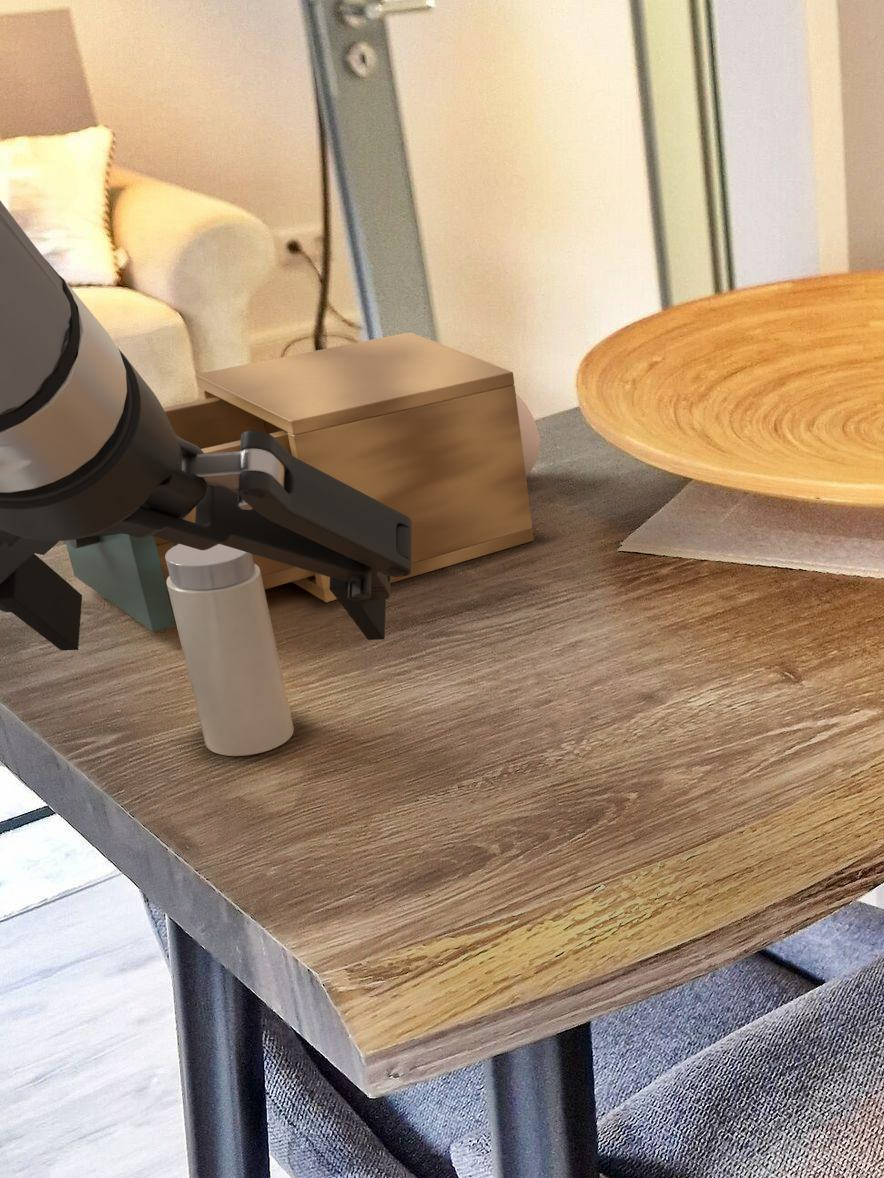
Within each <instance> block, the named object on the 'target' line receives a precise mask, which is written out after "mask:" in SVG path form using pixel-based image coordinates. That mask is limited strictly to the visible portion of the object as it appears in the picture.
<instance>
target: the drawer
mask: <svg viewBox="0 0 884 1178" xmlns="http://www.w3.org/2000/svg"><path fill="white" fill-rule="evenodd" d="M163 409H164V411H165V413H166V415H167V418H168V420H169V422H170V424H171V427H172V429H173V431H174V433H175V434H176V435H177V436H178V437H180V438H181V439H183V440H185V441H187V442H190V443H192V444H194V445H196V446H197V447H199V448H200V449H201V450H202V451H203V452H204V453H205V454H208V453H222V452H236V451H240V443H241V435H242V433H244V432H247V431H262V432H266V433H268V434H271V435H272V436H273V437H274V438H275V439H276V440H277V441H278V442H279V443H280V444H281V445H282V446H283V447H284V448H285V449H286V450H287V451H288V452H289V453H290V454H291V449H290V444H289V438H288V432H287V431H285V430H283V429H281V428H279V427H277V426H275V425H273V424H271V423H269V422H267V421H265V420H263V419H261V418H259V417H257V416H255V415H253V414H251V413H249V412H247V411H245V410H243V409H241V408H239V407H237V406H235V405H233V404H231V403H229V402H227V401H225V400H223V399H221V398H219V397H213V398H208V399H203V400H201V399H199V400H195V401H190V402H183V403H179V404H173V405H171V406H165V407H163ZM291 455H292V454H291ZM195 514H196V506H195V507H194V508H193V510H192V511H191V512H190V513H189V514H188V515H187V516H186V517H185V518H184V520H187V521H190V522H193V523H195ZM64 542H65V546H66V549H67V552H68V553H67V554H68V557H69V560H70V564H71V568H72V571H73V575H74V577H75V578H77V579H78V580H79V581H81V582H82V583H83V584H85V585H86V586H88V587H89V588H90V589H92V590H93V591H94V592H96V593H98V594H99V595H100V596H102V597H103V598H105V600H107V601H109V602H110V603H111V604H113V605H114V606H116V607H117V608H118V609H120V610H122V612H124V613H126V614H127V615H128V616H129V617H131V618H132V619H134V620H135V621H137V623H139V624H141V625H142V626H144V627H145V628H147V630H149V631H151V632H152V633H156V632H159V631H163V630H166V629H170V628H174V627H176V621H175V617H174V613H173V609H172V604H171V600H170V596H169V592H168V588H167V584H166V581H167V578H168V577H169V572H168V567H167V563H166V559H165V555H166V553H167V551H168V550H170V549H171V548H172V547H174V546H176V545H178V543H175V542H171V541H168V540H165V539H161V538H158V537H154V536H147V537H144V538H137V537H134V536H130V535H127V534H115V535H108V536H92V537H84V538H79V539H75V540H67V541H64ZM252 555H253V560H254V563H255V564H256V565H257V566H258V567H259V568H260V570H261V575H262V580H263V585H264V589H265V590H268V589H271V588H274V587H278V586H281V585H285V584H288V583H289V584H290V583H293V582H292V581H296V580H299V579H303V578H306V577H310V576H313V575H315V573H314V572H311V571H308V570H304V569H301V568H298V567H294V566H291V565H288V564H284V563H281V562H278V561H274V560H271V559H268V558H264V557H261V556H258V555H254V554H252Z"/></svg>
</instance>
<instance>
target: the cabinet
mask: <svg viewBox="0 0 884 1178" xmlns="http://www.w3.org/2000/svg"><path fill="white" fill-rule="evenodd" d="M195 380H196V384H197V387H198V392H199V396H200V400H203V399H208V398H213V397H219V398H221V399H223V400H225V401H227V402H229V403H231V404H233V405H235V406H237V407H239V408H241V409H243V410H245V411H247V412H249V413H251V414H253V415H255V416H257V417H259V418H261V419H263V420H265V421H267V422H269V423H271V424H273V425H275V426H277V427H279V428H281V429H283V430H285V431H287V432H288V438H289V444H290V449H291V454H292V456H293V457H295V458H297V459H299V460H301V461H303V462H305V463H307V464H309V465H310V466H312V467H314V468H316V469H318V470H320V471H322V472H324V473H326V474H328V475H329V476H331V477H333V478H335V479H337V480H339V481H341V482H343V483H345V484H347V485H348V486H350V487H352V488H354V489H356V490H358V491H360V492H362V493H364V494H366V495H367V496H369V497H371V498H373V499H375V500H377V501H379V502H381V503H383V504H385V505H386V506H388V507H390V508H392V509H394V510H396V511H398V512H400V513H402V514H404V515H405V516H407V517H409V518H410V519H411V520H412V538H411V573H410V574H409V575H407V576H403V577H393V576H391V580H390V584H393V583H396V582H399V581H402V580H403V581H404V580H406V579H410V578H412V577H416V576H420V575H423V574H427V573H430V572H433V571H436V570H440V569H443V568H447V567H450V566H454V565H457V564H459V563H464V562H467V561H470V560H473V559H477V558H480V557H483V556H487V555H490V554H493V553H497V552H500V551H504V550H507V549H510V548H513V547H517V546H520V545H524V544H527V543H530V542H534V541H535V536H534V530H533V522H532V513H531V505H530V497H529V490H528V488H529V487H528V482H527V480H528V479H527V476H526V472H525V464H524V456H523V448H522V440H521V432H520V424H519V416H518V408H517V400H516V394H517V393H516V386H515V378H514V372H513V371H511V370H509V369H506V368H504V367H501V366H499V365H495V364H493V363H491V362H489V361H485V360H483V359H480V358H477V357H476V356H473V355H470V354H468V353H465V352H463V351H460V350H457V349H456V348H453V347H450V346H447V345H445V344H442V343H440V342H438V341H435V340H432V339H430V338H427V337H425V336H422V335H419V334H417V333H415V332H411V331H409V332H404V333H399V334H394V335H393V334H392V335H389V336H385V337H383V336H382V337H378V338H373V339H367V340H364V341H363V340H362V341H358V342H354V343H353V342H352V343H348V344H343V345H337V346H333V347H327V348H323V349H317V350H312V351H308V352H302V353H297V354H293V355H287V356H283V357H276V358H271V359H267V360H262V361H257V362H252V363H247V364H241V365H235V366H231V367H226V368H221V369H220V368H219V369H215V370H211V371H206V372H201V373H196V374H195ZM291 583H293V584H295V585H297V586H298V587H300V588H301V589H303V590H305V591H306V592H308V593H310V594H312V595H313V596H315V597H316V598H318V599H319V600H321V601H323V602H324V603H329V602H332V601H336V600H337V598H336V597H335V596H334V594H333V593H332V592H331V590H330V589H329V587H330V577H328V576H324V575H321V574H318V573H315V575H313V576H310V577H306V578H303V579H299V580H296V581H292V582H291Z"/></svg>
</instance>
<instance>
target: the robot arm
mask: <svg viewBox="0 0 884 1178" xmlns="http://www.w3.org/2000/svg"><path fill="white" fill-rule="evenodd" d="M110 335H111V334H109V332H108V331H107V330H106V329H105V328H104V326H103V325H102V323H100V321H99V320H98V319H97V318H96V317H95V315H94V314H93V313H92V311H91V310H90V309H89V308H88V306H87V305H86V304H85V303H84V302H83V300H82V299H81V298H80V297H79V296H78V294H77V293H76V292H75V290H74V289H73V288H72V287H71V286H70V285H69V284H68V282H67V281H66V279H64V278H63V277H62V276H61V275H60V274H59V273H58V272H57V271H56V270H55V268H54V267H53V266H52V265H51V263H50V262H49V261H48V260H47V259H46V258H45V257H44V255H43V254H42V253H41V251H40V250H39V249H38V248H37V247H36V245H35V244H34V243H33V241H32V240H31V239H30V237H29V236H28V235H27V234H26V232H25V231H24V229H23V228H22V227H21V226H20V224H19V223H18V222H17V221H16V219H15V218H14V216H13V215H12V214H11V212H10V211H9V210H8V208H7V207H6V206H5V204H4V203H3V202H2V201H1V200H0V611H1V612H3V613H12V614H13V615H14V616H16V617H17V618H18V619H19V620H21V621H22V622H24V623H25V624H26V625H27V626H29V627H30V628H31V629H32V630H34V631H35V632H36V633H38V634H39V635H40V636H41V637H43V638H44V639H45V640H46V641H48V642H49V643H51V644H52V645H53V646H55V647H56V648H57V649H58V650H60V651H61V652H62V651H79V647H80V646H79V645H80V629H81V616H82V602H83V595H82V593H80V592H79V590H77V589H76V588H75V587H73V586H72V585H71V584H70V583H69V582H68V581H66V579H64V578H63V577H62V576H61V575H60V574H59V573H57V571H55V570H54V569H53V568H52V567H51V566H49V565H48V563H46V562H45V561H44V560H43V559H41V557H39V556H38V555H41V556H44V555H46V554H47V553H48V552H49V551H50V550H51V549H53V548H54V547H55V546H56V545H57V544H58V543H59V542H65V541H67V540H75V539H79V538H84V537H92V536H108V535H115V534H127V535H130V536H134V537H137V538H144V537H147V536H154V537H158V538H161V539H165V540H168V541H171V542H175V543H178V544H182V545H185V546H188V547H192V548H195V549H199V550H207V549H210V548H212V547H214V546H216V545H218V544H221V545H224V546H228V547H231V548H234V549H238V550H241V551H244V552H248V553H251V554H254V555H258V556H261V557H264V558H268V559H271V560H274V561H278V562H281V563H284V564H288V565H291V566H294V567H298V568H301V569H304V570H308V571H311V572H314V573H318V574H321V575H324V576H328V577H330V587H329V589H330V590H331V592H332V593H333V594H334V596H335V597H336V598H337V599H336V600H337V601H338V602H339V604H340V605H341V606H342V608H343V609H344V610H345V612H346V613H347V614H348V615H349V617H350V618H351V620H352V621H353V623H354V624H355V625H356V626H357V628H358V629H359V630H360V632H361V633H362V635H364V637H365V638H366V639H367V641H378V640H380V641H382V640H385V639H386V600H389V599H390V597H391V583H390V580H391V576H393V577H403V576H407V575H409V574H410V573H411V538H412V520H411V519H410V518H409V517H407V516H405V515H404V514H402V513H400V512H398V511H396V510H394V509H392V508H390V507H388V506H386V505H385V504H383V503H381V502H379V501H377V500H375V499H373V498H371V497H369V496H367V495H366V494H364V493H362V492H360V491H358V490H356V489H354V488H352V487H350V486H348V485H347V484H345V483H343V482H341V481H339V480H337V479H335V478H333V477H331V476H329V475H328V474H326V473H324V472H322V471H320V470H318V469H316V468H314V467H312V466H310V465H309V464H307V463H305V462H303V461H301V460H299V459H297V458H295V457H293V456H292V455H291V454H290V453H289V452H288V451H287V450H286V449H285V448H284V447H283V446H282V445H281V444H280V443H279V442H278V441H277V440H276V439H275V438H274V437H273V436H272V435H271V434H268V433H266V432H262V431H247V432H244V433H242V435H241V443H240V451H236V452H222V453H208V454H205V453H204V452H203V451H202V450H201V449H200V448H199V447H197V446H196V445H194V444H192V443H190V442H187V441H185V440H183V439H181V438H180V437H178V436H177V435H176V434H175V433H174V431H173V429H172V427H171V424H170V422H169V420H168V418H167V415H166V413H165V411H164V409H163V408H164V407H163V405H162V404H161V402H160V400H159V399H158V397H157V395H156V394H155V392H154V391H153V390H152V388H151V387H150V386H149V384H148V383H147V382H146V381H145V380H144V378H143V377H142V376H141V375H140V374H139V372H138V371H137V370H136V368H135V367H134V365H132V363H131V362H130V361H129V360H128V358H127V357H126V356H125V355H124V353H123V352H122V351H121V350H120V349H119V348H118V346H117V345H116V343H115V342H114V340H113V338H112V337H111V336H110ZM195 506H196V514H195V523H193V522H190V521H187V520H184V518H185V517H186V516H187V515H188V514H189V513H190V512H191V511H192V510H193V508H194V507H195Z"/></svg>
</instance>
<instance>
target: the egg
mask: <svg viewBox="0 0 884 1178" xmlns="http://www.w3.org/2000/svg"><path fill="white" fill-rule="evenodd" d="M516 400H517V408H518V416H519V424H520V432H521V440H522V448H523V456H524V464H525V472H526V477H527V476H528V475H529V474H530V473H531V471H532V470H533V468H534V467H535V465H536V462H537V460H538V455H539V453H540V436H539V431H538V426H537V423H536V421H535V418H534V415H533V413H532V412H531V410H530V409H529V407H528V405H527V404H526V403H525V401H524V400H523V399H522V398H521V396H520V395H519V394H518V393H516Z"/></svg>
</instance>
